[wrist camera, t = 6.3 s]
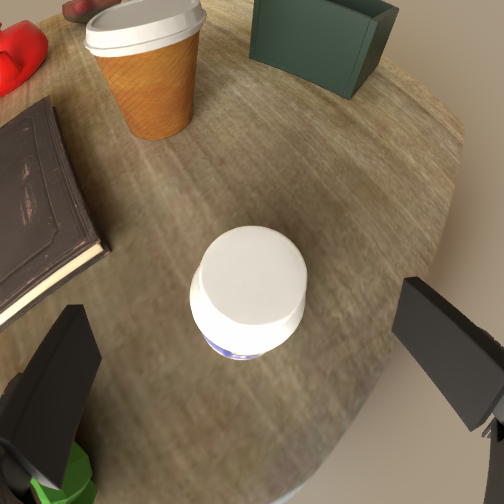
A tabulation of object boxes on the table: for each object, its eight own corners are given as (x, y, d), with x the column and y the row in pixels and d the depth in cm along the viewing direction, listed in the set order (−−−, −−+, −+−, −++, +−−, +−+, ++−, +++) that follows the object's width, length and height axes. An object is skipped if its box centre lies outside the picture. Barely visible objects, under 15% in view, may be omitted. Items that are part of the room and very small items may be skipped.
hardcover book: (55, 108, 26) (48, 94, 24) (110, 252, 20) (99, 238, 18) (-39, 180, 22) (-48, 169, 20) (-22, 350, 15) (-40, 346, 13)
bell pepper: (133, 464, 14) (60, 522, 5) (94, 530, 11) (29, 587, 2) (41, 389, 15) (-61, 379, 6) (11, 460, 12) (-74, 474, 3)
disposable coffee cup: (97, 127, 25) (63, 28, 14) (168, 81, 28) (157, -12, 17) (151, 170, 23) (117, 43, 12) (229, 113, 26) (234, 0, 15)
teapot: (-19, 86, 31) (-39, 44, 20) (42, 43, 36) (29, -1, 25) (-18, 137, 24) (-54, 78, 13) (69, 73, 29) (48, 5, 18)
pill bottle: (234, 376, 17) (237, 379, 9) (185, 310, 19) (152, 259, 10) (299, 326, 19) (351, 286, 11) (250, 265, 20) (264, 189, 12)
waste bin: (377, 65, 34) (399, 8, 24) (349, 100, 29) (378, 22, 19) (296, 31, 36) (307, -25, 26) (248, 57, 31) (255, -17, 21)
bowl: (62, 28, 38) (54, 0, 31) (113, 5, 42) (108, -22, 35) (79, 40, 34) (70, 5, 27) (141, 14, 38) (137, -20, 31)
